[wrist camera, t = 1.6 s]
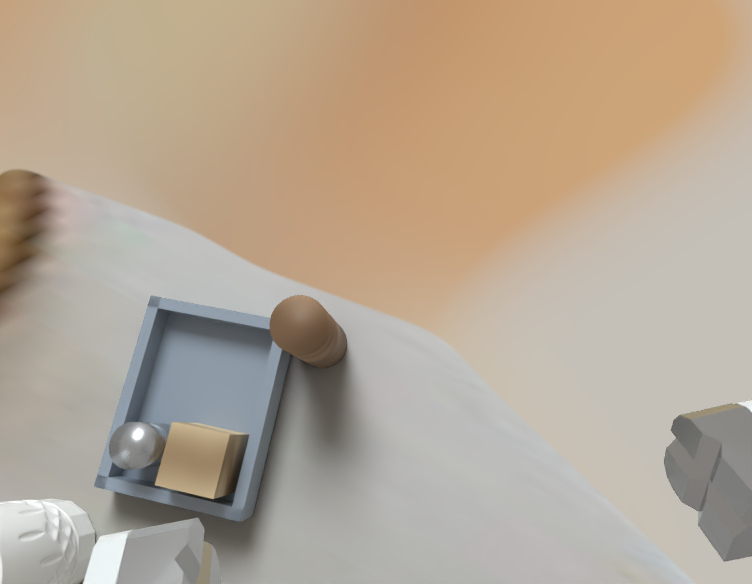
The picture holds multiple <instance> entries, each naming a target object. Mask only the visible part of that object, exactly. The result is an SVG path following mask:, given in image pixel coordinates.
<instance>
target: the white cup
mask: <svg viewBox="0 0 752 584" xmlns="http://www.w3.org/2000/svg"><path fill="white" fill-rule="evenodd" d="M94 546H95V530H94V528H93V526H92V524H91V521H90V519H89V517H88V515H87V513H86V512H85V511H83V510H82V509H81V508H79V507H78V506H77V505H76V504H74V503H73V502H72V501H66V500H59V499H43V500H19V501H7V502H0V584H79V583H80V582H81V581H82V580H83V579H84V578H85V574H86V571H87V567H88V564H89V560H90V557H91V553H92V550H93V547H94Z"/></svg>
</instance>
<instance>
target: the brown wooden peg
mask: <svg viewBox="0 0 752 584" xmlns="http://www.w3.org/2000/svg"><path fill="white" fill-rule="evenodd" d="M269 327H270V334H271V337H272V339H273V341H274V342H275V343H276V345H277V346H278V347H280V348H281V349H282V350H284V351H286V352H288V353H290V354H291V355H293V356H295V357H297V358H299V359H301V360H302V361H304V362H306V363H308V364H310V365H312V366H314V367H317V368H327V367H331V366H333V365H335V364H336V363H338V362H339V361H340V360H341V359H342V357H343V356H344V354H345V351H346V348H347V339H346V335H345V333H344V331H343V329H342V328H341V327H340V326H339V325H338V324H337V322H336V321H335V320H334V319H333V318H332V317H331V316H330V314H329V313H328V312H327V311H326V310H325V309H324V308H323V306H322V305H321V304H320V303H319V302H318V301H316V300H315V299H313V298H311V297H308V296H303V295H297V296H292V297H289V298H287V299H285V300H283V301H282V302H281V303H280V304H278V305H277V307H276V308H275V309H274V311H273V313H272V315H271V318H270V325H269Z"/></svg>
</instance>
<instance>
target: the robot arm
mask: <svg viewBox="0 0 752 584" xmlns="http://www.w3.org/2000/svg"><path fill="white" fill-rule="evenodd" d="M671 431H672V433H673V434H674V435H675V436H676V439H675V440H674V441H673V442H672V443H671V444H670V445H669V446H668V447H667V448H666V453H665V458H664V465H665V469H666V474H667V478H668V479H669V482H670V484H671V486H672V488H673V490H674V491H675V493H676V494H677V496H678V497H679V499H680V500H681V502H683V503H685V504H686V505H688V506H690V507H692V508H693V509H695V510H697V511H699V513H698V514H699V515H698V526H699V527H700V528H701V530H702V531H703V533H704V534H705V536H706V537H707V538H708V540H709V541H710V543H711V544H712V545H713V547H714V548H715V549H716V551H717V552H718V554H719V555H720V556H721V558H722V559H723V561H729V560H735V559H740V558H745V557H750V556H752V400H749V401H744V402H741V403H736V404H732V403H731V404H727V405H722V406H718V407H713V408H709V409H704V410H701V411H696V412H691V413H687V414H682V415H679V416H678V417H677V418H676V419H675V420H674V421H673V425H672V428H671ZM204 532H205V529H204V527H203V525H202V523H201V522H200V520H199V518H193V519H188V520H182V521H177V522H172V523H166V524H161V525H156V526H151V527H145V528H140V529H135V530H129V531H124V532H119V533H114V534H109V535H105V536H100V538H99V540H98V541H97V543H96V544H95V546H94V547H93V550H92V553H91V557H90V560H89V564H88V567H87V571H86V574H85V578H84V581H83V584H221V572H220V564H219V560H218V556H217V553H216V551H215V549H214V547H213V545H212V544H210V543H207V542H205V541H204Z"/></svg>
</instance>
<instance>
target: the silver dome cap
mask: <svg viewBox="0 0 752 584" xmlns="http://www.w3.org/2000/svg"><path fill="white" fill-rule="evenodd" d="M170 428H171V425H169V424H166V423H150V422H128V423H125V424H123V425H121V426H120V427H119V428H117V429H116V431H115V432H114V433H113V435H112V437H111V439H110V442H109V454H110V457H111V460H112V461H113V463H114V464H115V465H116V466H118V467H119V468H122V469H126V470H131V469H139V468H147V467H156V466H160V464H161V460H162V457H163V453H164V449H165V446H166V442H167V439H168V435H169V431H170Z"/></svg>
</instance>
